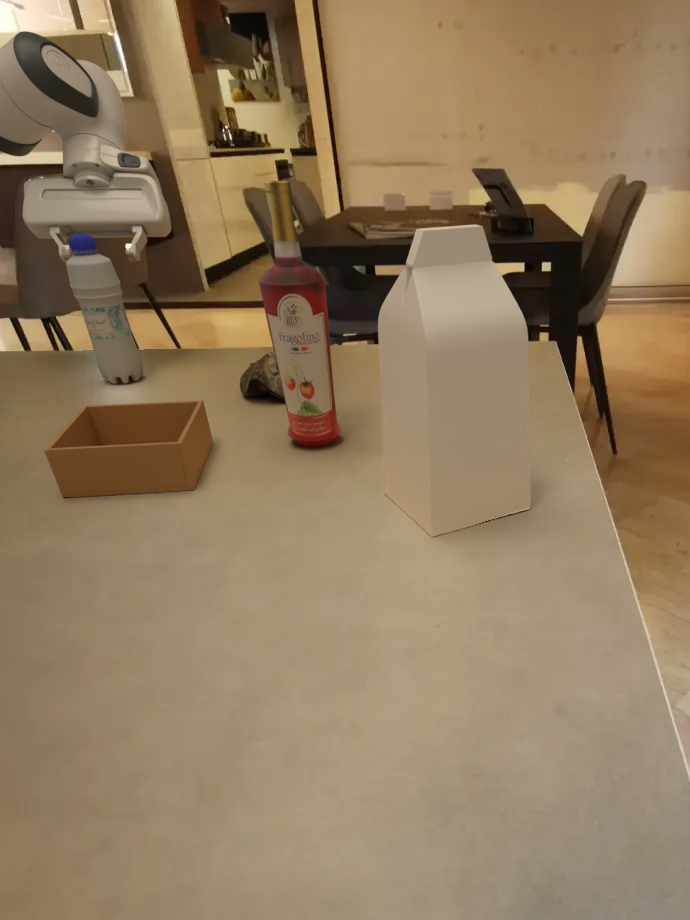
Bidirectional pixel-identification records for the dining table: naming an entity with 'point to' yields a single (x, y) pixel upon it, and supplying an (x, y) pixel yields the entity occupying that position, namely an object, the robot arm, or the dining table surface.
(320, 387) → the liquor
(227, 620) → the dining table surface
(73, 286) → the bottle
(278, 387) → the fossilized seashell
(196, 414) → the shallow wooden crate
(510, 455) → the milk
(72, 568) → the dining table surface
